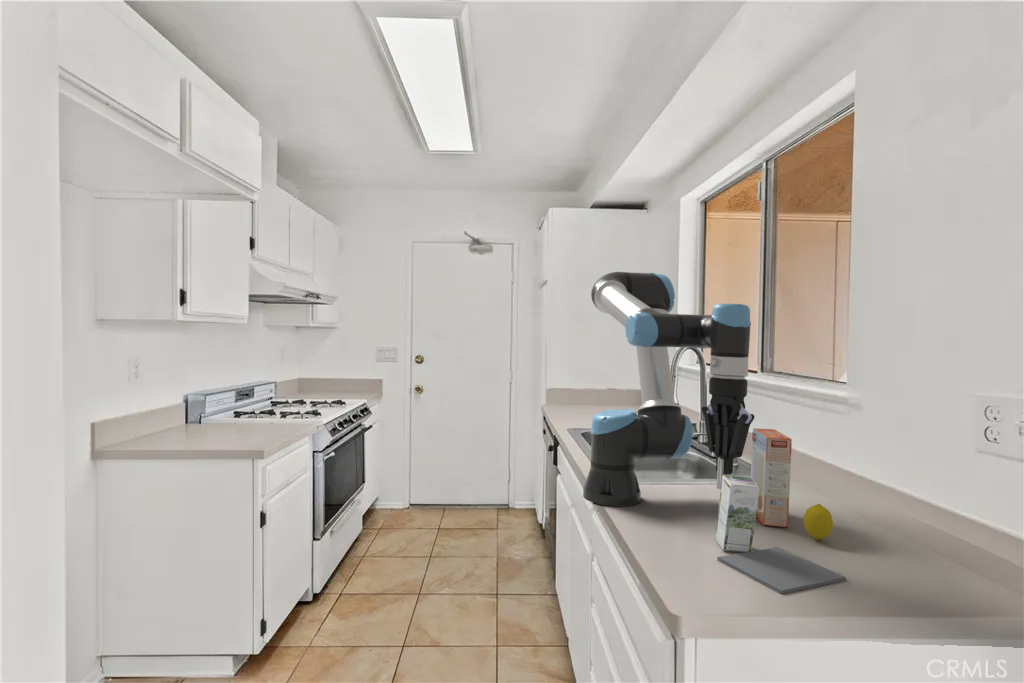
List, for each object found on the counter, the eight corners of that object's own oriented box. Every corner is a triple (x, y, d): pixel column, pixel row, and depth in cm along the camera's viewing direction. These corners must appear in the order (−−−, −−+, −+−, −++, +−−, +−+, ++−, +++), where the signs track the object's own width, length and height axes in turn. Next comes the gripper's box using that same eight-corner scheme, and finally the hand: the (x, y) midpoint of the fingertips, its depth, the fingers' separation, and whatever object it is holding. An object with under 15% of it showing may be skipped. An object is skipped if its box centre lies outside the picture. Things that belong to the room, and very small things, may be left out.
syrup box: (741, 540, 117) (749, 475, 116) (751, 554, 112) (760, 485, 110) (714, 538, 118) (721, 472, 116) (723, 552, 112) (730, 483, 110)
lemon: (802, 534, 124) (804, 498, 124) (831, 538, 121) (832, 502, 121) (803, 542, 119) (804, 505, 119) (833, 547, 116) (834, 509, 116)
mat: (717, 560, 108) (717, 557, 108) (777, 549, 114) (777, 546, 114) (781, 594, 94) (781, 590, 94) (846, 580, 100) (846, 576, 100)
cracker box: (790, 528, 127) (793, 438, 127) (762, 526, 128) (765, 436, 128) (774, 510, 141) (776, 428, 141) (748, 508, 142) (751, 427, 142)
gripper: (693, 374, 121) (689, 481, 121) (737, 379, 110) (732, 498, 110) (720, 375, 124) (715, 479, 124) (765, 379, 112) (760, 495, 113)
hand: (723, 488), depth 117 cm, fingers closed
